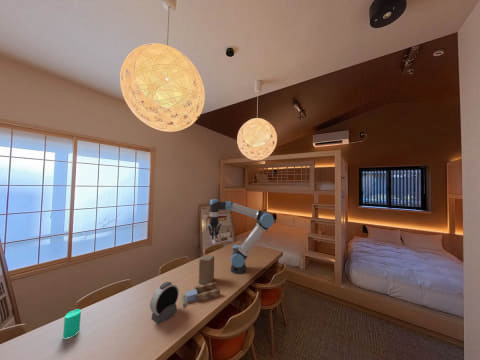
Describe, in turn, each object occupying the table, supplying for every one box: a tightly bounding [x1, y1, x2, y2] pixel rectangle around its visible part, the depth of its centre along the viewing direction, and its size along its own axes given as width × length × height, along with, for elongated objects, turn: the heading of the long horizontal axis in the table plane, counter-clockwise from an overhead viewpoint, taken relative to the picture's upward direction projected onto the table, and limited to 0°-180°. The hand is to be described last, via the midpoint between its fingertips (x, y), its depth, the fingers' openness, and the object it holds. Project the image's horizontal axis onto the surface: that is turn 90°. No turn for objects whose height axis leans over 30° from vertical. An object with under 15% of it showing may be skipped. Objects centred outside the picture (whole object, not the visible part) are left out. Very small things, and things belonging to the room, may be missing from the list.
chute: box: [180, 281, 221, 308], centre depth 115 cm, size 25×11×5 cm, turn 116°
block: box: [185, 289, 198, 303], centre depth 112 cm, size 7×6×4 cm
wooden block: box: [198, 254, 215, 285], centre depth 134 cm, size 10×10×20 cm
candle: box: [62, 308, 82, 338], centre depth 84 cm, size 6×6×12 cm
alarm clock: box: [149, 281, 180, 325], centre depth 98 cm, size 16×10×18 cm, turn 148°
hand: (214, 243), depth 144 cm, fingers closed
